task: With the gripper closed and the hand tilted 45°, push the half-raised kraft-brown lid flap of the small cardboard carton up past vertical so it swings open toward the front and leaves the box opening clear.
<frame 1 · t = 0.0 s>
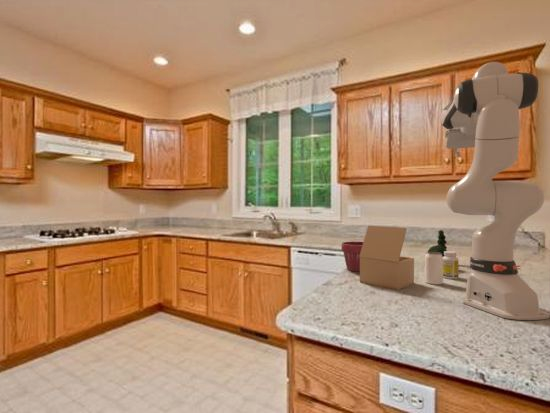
hand: (469, 155, 154), 54 cm above the worktop, tool tilted 30°, fingers open, 8 cm apart
plant pot: (356, 270, 155), on the worktop
flap: (382, 243, 127), point 16 cm above the worktop, hinge at 60.0°
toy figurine: (439, 267, 161), on the worktop
pill bottle: (450, 278, 138), on the worktop
can: (433, 283, 129), on the worktop
carton: (386, 282, 130), on the worktop
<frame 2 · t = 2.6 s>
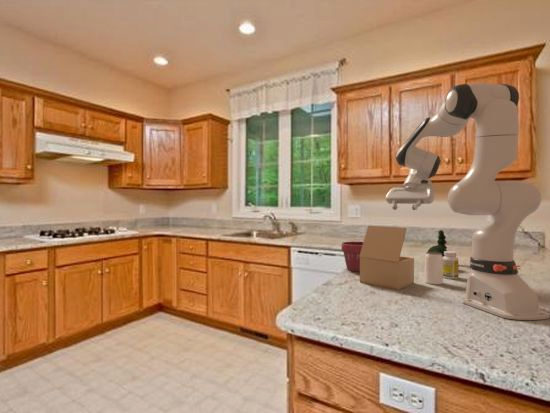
hand: (403, 208, 140), 29 cm above the worktop, tool tilted 45°, fingers open, 7 cm apart
nothing on the worktop moved.
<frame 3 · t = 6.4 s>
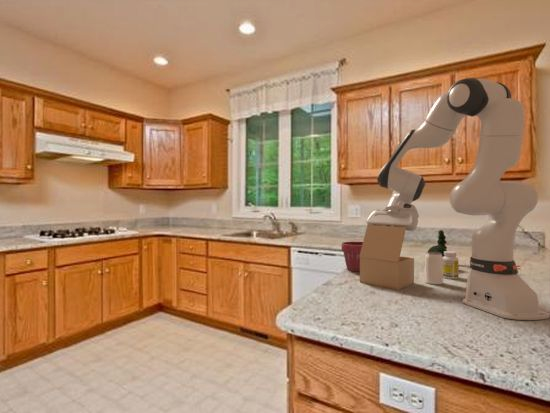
hand: (384, 235, 128), 19 cm above the worktop, tool tilted 45°, fingers closed, pressing on flap
flap: (381, 242, 127), point 16 cm above the worktop, hinge at 62.6°, touching gripper
everything else where it was.
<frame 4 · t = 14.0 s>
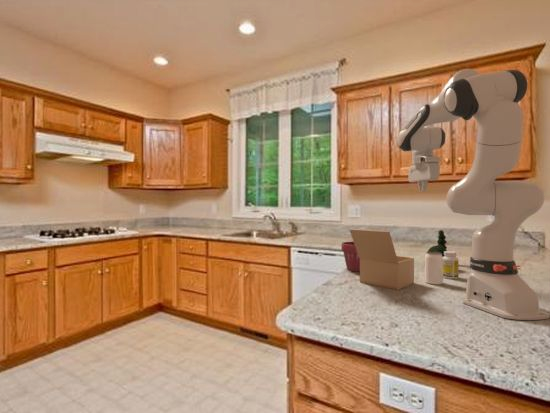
hand: (422, 191, 145), 37 cm above the worktop, tool pointing down, fingers closed
flap: (373, 245, 122), point 16 cm above the worktop, hinge at 120.6°
everything else where it was.
at the end: flap at +121° (first picture: +60°); can moved 0.2 cm from its start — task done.
